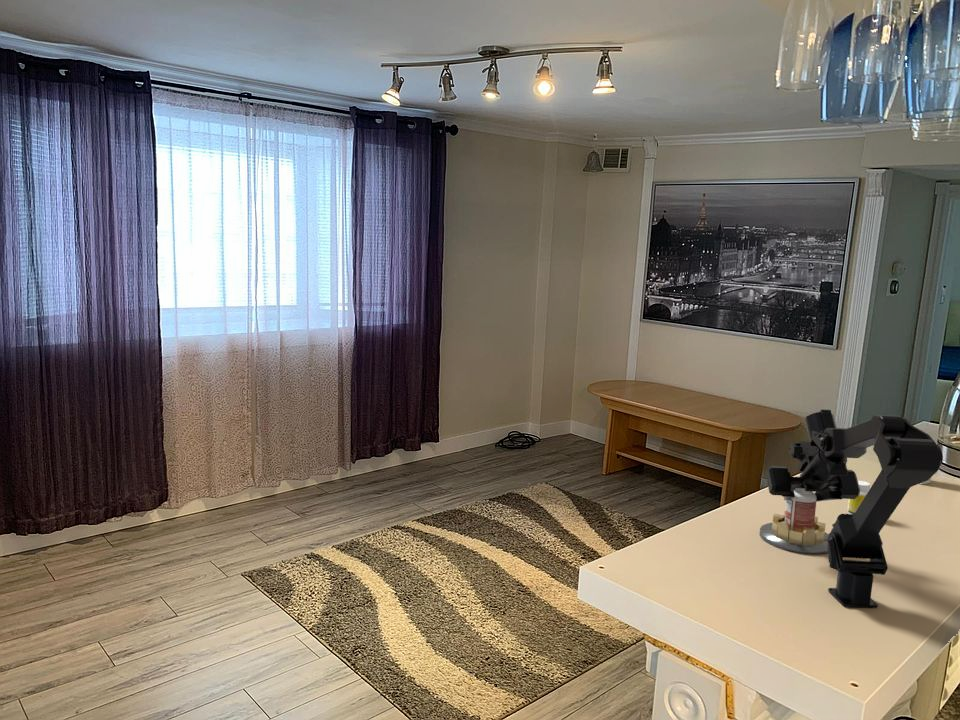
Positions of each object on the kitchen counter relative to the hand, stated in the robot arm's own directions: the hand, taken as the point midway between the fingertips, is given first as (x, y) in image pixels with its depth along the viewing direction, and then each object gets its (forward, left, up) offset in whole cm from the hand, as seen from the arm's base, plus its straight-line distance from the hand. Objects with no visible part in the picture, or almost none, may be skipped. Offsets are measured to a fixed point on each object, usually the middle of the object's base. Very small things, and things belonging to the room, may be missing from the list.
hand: (799, 499), depth 165 cm
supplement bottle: (+16, -23, -9) cm, 29 cm away
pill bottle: (-1, 0, -7) cm, 7 cm away
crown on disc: (-1, 0, -9) cm, 9 cm away
